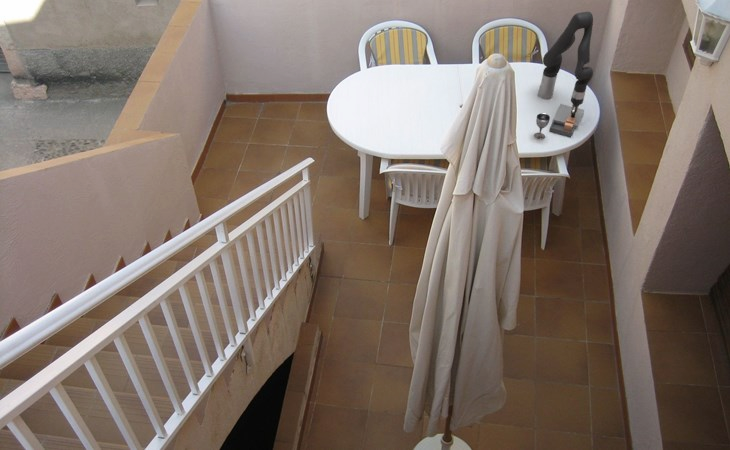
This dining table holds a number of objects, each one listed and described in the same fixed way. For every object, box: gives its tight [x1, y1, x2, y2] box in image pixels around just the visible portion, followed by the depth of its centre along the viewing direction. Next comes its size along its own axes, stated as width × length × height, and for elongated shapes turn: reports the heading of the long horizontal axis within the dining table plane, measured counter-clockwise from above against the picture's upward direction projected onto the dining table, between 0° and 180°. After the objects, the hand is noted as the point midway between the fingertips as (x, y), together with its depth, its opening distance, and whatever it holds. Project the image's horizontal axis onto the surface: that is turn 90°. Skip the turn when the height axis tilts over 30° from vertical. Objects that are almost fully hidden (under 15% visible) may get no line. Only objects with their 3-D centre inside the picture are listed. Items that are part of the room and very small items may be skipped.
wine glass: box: [533, 112, 551, 141], centre depth 432 cm, size 8×8×15 cm
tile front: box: [563, 123, 573, 132], centre depth 439 cm, size 5×5×2 cm
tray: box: [548, 119, 575, 138], centre depth 440 cm, size 14×9×4 cm, turn 65°
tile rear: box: [566, 116, 576, 125], centre depth 441 cm, size 5×5×2 cm
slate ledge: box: [552, 103, 585, 130], centre depth 449 cm, size 16×19×3 cm
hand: (572, 117), depth 444 cm, fingers closed
